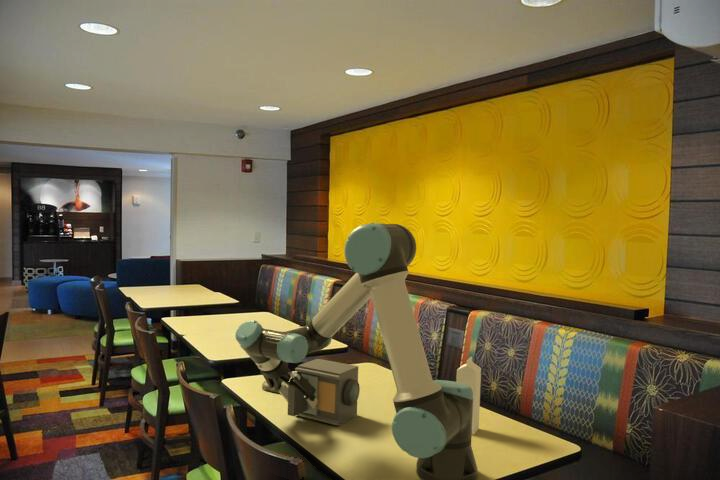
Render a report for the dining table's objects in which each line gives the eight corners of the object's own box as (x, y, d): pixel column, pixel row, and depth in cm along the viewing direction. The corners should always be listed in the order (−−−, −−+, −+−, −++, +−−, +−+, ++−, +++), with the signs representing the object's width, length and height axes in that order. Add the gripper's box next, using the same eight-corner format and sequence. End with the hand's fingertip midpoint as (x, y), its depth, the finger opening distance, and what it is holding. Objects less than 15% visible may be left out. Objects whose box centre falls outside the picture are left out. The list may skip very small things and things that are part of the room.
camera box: (362, 416, 177) (363, 367, 177) (341, 428, 166) (343, 376, 166) (316, 405, 186) (317, 358, 186) (293, 416, 176) (294, 366, 175)
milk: (454, 431, 167) (456, 359, 166) (460, 425, 173) (462, 355, 172) (474, 435, 164) (476, 362, 164) (479, 428, 170) (481, 357, 169)
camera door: (317, 414, 172) (318, 376, 172) (302, 421, 166) (303, 382, 165) (294, 408, 177) (295, 371, 176) (278, 415, 170) (279, 377, 170)
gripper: (235, 366, 162) (269, 405, 176) (295, 378, 151) (326, 419, 165) (248, 345, 166) (280, 384, 181) (307, 355, 155) (336, 397, 169)
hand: (302, 401), depth 173 cm, fingers closed on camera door, 9 cm apart
